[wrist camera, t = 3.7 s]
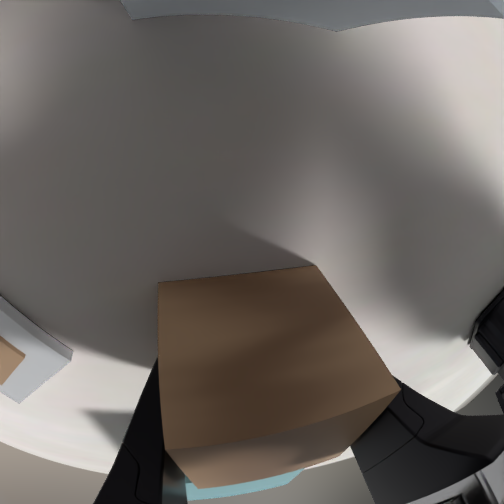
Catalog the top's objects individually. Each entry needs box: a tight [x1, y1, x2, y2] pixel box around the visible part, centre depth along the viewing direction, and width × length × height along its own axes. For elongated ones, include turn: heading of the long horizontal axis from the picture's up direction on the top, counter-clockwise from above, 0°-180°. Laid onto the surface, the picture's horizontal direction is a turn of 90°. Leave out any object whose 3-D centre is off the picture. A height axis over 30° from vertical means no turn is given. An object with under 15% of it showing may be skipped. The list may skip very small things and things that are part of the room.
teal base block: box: [185, 468, 304, 501], centre depth 15 cm, size 8×8×4 cm
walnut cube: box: [158, 265, 401, 489], centre depth 8 cm, size 5×5×5 cm
